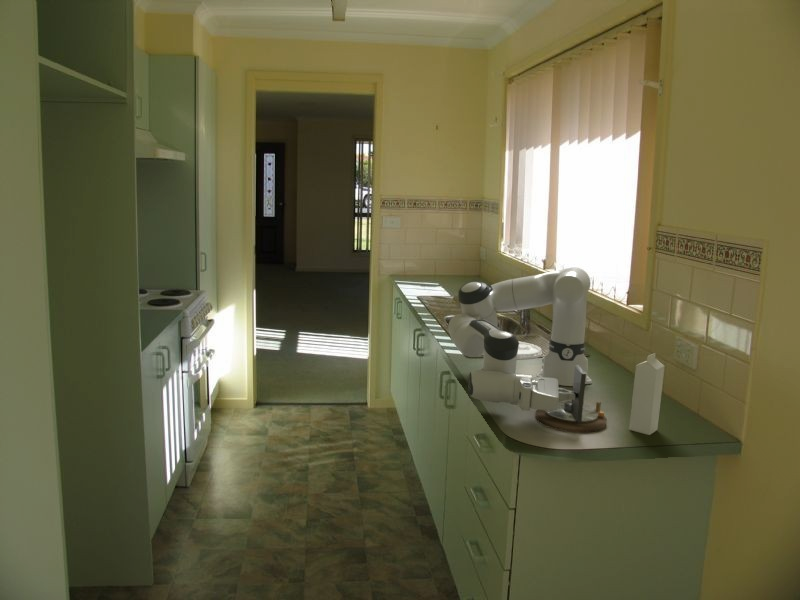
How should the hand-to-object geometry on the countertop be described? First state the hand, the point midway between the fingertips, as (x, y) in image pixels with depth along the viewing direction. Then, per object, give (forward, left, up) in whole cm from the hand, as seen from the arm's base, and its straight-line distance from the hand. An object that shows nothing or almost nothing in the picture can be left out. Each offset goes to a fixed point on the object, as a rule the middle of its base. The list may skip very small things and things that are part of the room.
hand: (575, 395), depth 201 cm
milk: (-5, +20, -10) cm, 23 cm away
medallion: (-84, -20, -10) cm, 87 cm away
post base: (-7, 0, -9) cm, 12 cm away
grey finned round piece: (-5, +1, -8) cm, 9 cm away
